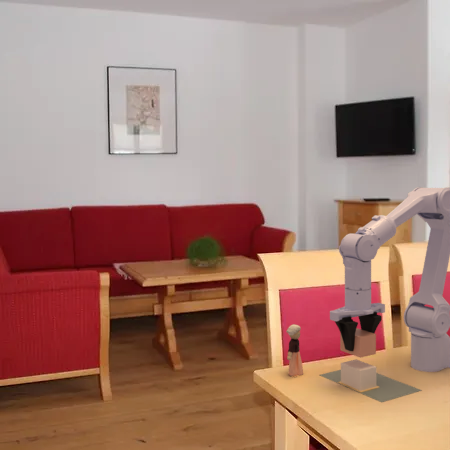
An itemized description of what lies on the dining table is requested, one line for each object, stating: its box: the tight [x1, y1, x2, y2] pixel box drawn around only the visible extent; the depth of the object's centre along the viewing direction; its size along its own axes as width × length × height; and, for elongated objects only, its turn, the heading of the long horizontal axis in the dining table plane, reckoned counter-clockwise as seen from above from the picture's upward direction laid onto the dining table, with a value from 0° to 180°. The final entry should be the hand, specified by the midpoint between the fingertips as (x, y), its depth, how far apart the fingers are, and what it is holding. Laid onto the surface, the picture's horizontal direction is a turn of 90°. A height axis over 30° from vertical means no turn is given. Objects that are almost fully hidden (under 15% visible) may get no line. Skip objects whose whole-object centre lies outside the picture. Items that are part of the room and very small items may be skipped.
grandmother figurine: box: [286, 324, 304, 378], centre depth 139 cm, size 8×4×13 cm, turn 168°
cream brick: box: [340, 359, 377, 391], centre depth 131 cm, size 5×6×4 cm
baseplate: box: [319, 369, 423, 403], centre depth 132 cm, size 12×20×1 cm, turn 30°
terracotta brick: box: [339, 328, 377, 358], centre depth 131 cm, size 5×6×4 cm
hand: (358, 348), depth 131 cm, fingers closed on terracotta brick, 5 cm apart
